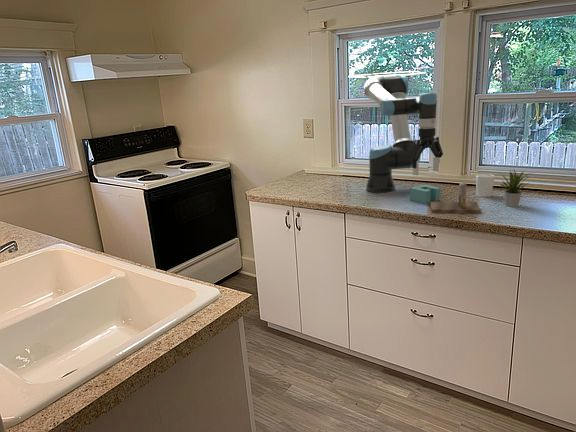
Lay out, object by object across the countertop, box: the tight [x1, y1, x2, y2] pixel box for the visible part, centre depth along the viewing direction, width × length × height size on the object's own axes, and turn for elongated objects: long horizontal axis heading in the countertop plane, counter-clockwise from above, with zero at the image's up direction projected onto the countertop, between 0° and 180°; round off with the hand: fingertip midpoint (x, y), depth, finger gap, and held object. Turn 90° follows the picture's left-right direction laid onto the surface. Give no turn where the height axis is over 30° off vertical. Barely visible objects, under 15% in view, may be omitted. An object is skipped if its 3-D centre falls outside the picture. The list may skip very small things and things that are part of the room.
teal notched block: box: [409, 184, 442, 205], centre depth 210 cm, size 10×10×6 cm
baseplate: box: [429, 182, 482, 214], centre depth 192 cm, size 20×13×12 cm, turn 76°
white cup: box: [475, 173, 495, 198], centre depth 211 cm, size 8×8×10 cm
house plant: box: [498, 169, 534, 208], centre depth 191 cm, size 14×14×16 cm
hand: (425, 173), depth 207 cm, fingers open, 13 cm apart
